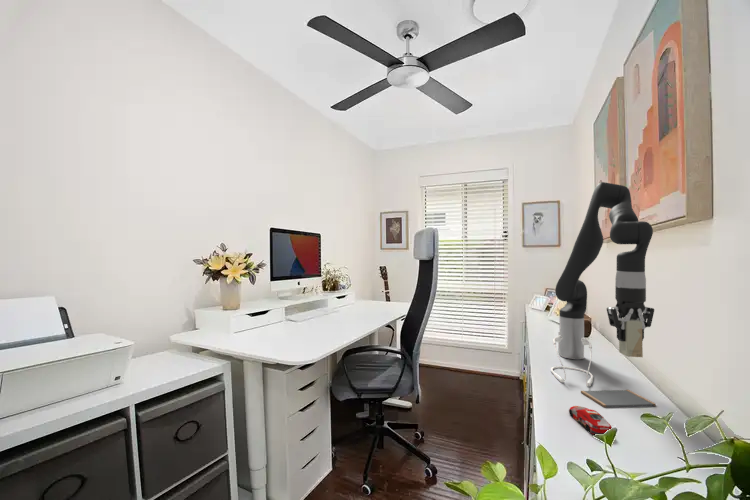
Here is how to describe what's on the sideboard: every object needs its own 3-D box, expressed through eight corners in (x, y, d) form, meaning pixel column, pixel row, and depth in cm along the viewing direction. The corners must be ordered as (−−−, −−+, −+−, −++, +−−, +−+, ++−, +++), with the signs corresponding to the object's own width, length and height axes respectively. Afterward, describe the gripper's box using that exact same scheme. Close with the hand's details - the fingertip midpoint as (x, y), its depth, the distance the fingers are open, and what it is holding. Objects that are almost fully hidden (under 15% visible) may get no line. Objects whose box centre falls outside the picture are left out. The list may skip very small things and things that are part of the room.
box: (643, 357, 100) (643, 321, 100) (626, 356, 101) (627, 320, 101) (633, 352, 106) (633, 317, 106) (618, 351, 106) (618, 317, 106)
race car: (565, 413, 95) (565, 398, 95) (585, 413, 95) (585, 399, 95) (593, 438, 82) (593, 422, 82) (616, 439, 81) (616, 423, 81)
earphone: (553, 374, 114) (551, 331, 126) (551, 398, 123) (549, 356, 136) (600, 380, 108) (593, 335, 120) (594, 406, 118) (588, 361, 130)
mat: (580, 392, 108) (580, 390, 108) (628, 391, 109) (628, 389, 109) (603, 407, 98) (603, 405, 98) (655, 406, 99) (655, 403, 99)
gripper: (642, 284, 108) (641, 337, 108) (599, 284, 107) (599, 337, 107) (663, 287, 100) (663, 343, 100) (617, 287, 99) (617, 344, 99)
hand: (630, 340), depth 103 cm, fingers closed on box, 5 cm apart
